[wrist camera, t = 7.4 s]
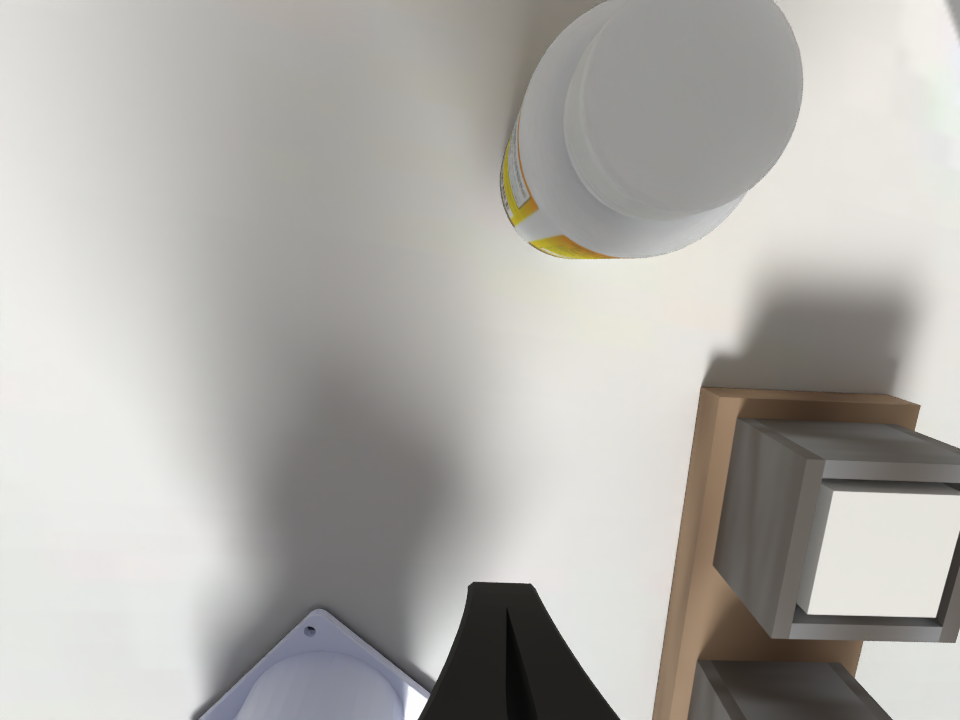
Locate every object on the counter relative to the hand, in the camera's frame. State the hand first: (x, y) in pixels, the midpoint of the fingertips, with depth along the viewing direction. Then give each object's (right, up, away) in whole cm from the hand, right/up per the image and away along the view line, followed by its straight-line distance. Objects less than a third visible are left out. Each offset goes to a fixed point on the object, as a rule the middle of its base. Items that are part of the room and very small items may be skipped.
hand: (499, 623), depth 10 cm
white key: (+13, 0, +8) cm, 15 cm away
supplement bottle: (+3, +12, +8) cm, 15 cm away
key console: (+12, -5, +12) cm, 18 cm away
